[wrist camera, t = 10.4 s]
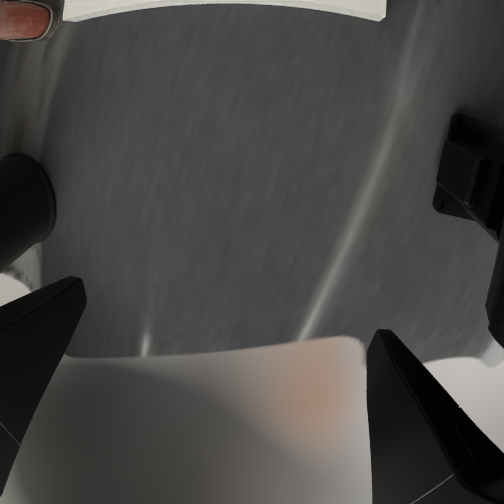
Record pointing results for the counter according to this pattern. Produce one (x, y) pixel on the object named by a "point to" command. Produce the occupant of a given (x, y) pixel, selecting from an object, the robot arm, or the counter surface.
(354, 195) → the counter surface
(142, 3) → the bracket board
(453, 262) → the counter surface
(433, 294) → the counter surface
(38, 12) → the lighter
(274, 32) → the counter surface
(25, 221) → the aerosol can
